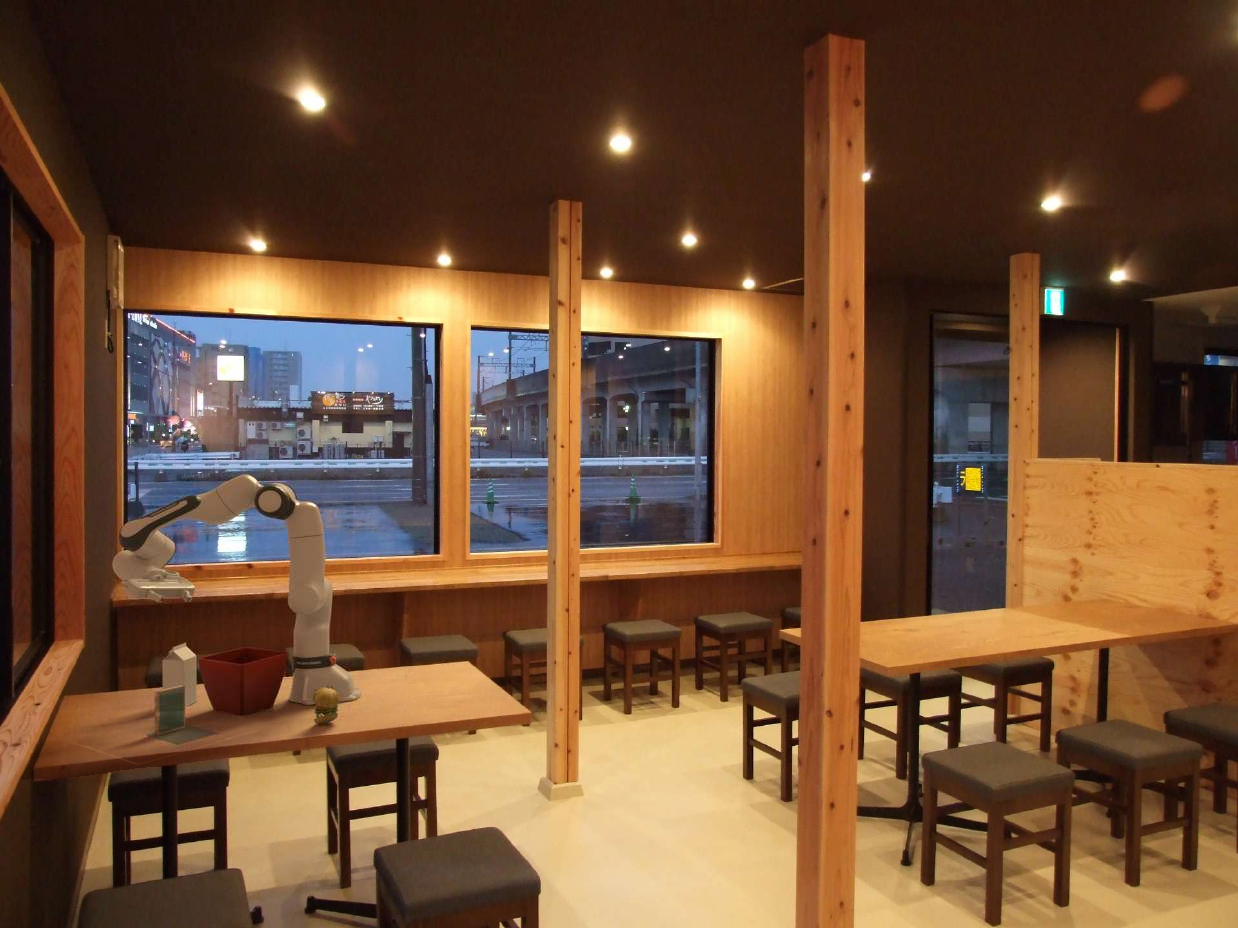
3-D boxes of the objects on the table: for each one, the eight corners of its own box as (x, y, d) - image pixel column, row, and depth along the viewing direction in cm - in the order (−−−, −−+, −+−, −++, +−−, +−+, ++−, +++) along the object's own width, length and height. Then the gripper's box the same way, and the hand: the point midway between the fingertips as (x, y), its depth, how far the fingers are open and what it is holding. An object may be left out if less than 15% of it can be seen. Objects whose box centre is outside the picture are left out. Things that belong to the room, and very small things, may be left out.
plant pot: (290, 704, 289) (290, 651, 289) (242, 720, 272) (242, 664, 272) (246, 697, 297) (245, 646, 297) (196, 713, 280) (196, 658, 280)
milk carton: (196, 702, 292) (196, 642, 292) (184, 708, 285) (183, 647, 285) (175, 701, 293) (175, 642, 293) (162, 707, 286) (162, 647, 286)
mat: (145, 736, 257) (145, 734, 257) (185, 725, 267) (185, 724, 267) (177, 745, 248) (177, 744, 248) (218, 734, 258) (218, 732, 258)
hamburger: (330, 719, 273) (330, 679, 273) (344, 723, 268) (344, 682, 268) (307, 725, 267) (307, 684, 267) (321, 729, 262) (321, 688, 262)
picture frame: (154, 733, 258) (154, 691, 258) (181, 726, 265) (181, 685, 265) (158, 734, 257) (158, 692, 257) (185, 727, 264) (185, 686, 263)
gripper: (120, 571, 272) (146, 590, 266) (182, 571, 290) (207, 589, 283) (114, 590, 273) (140, 610, 266) (175, 590, 291) (201, 608, 284)
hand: (175, 599), depth 275 cm, fingers open, 8 cm apart
